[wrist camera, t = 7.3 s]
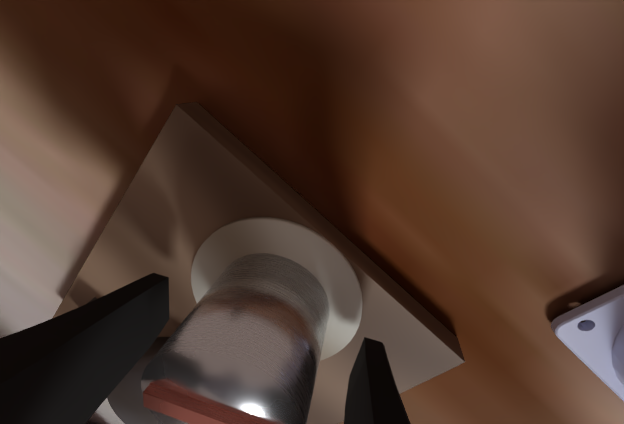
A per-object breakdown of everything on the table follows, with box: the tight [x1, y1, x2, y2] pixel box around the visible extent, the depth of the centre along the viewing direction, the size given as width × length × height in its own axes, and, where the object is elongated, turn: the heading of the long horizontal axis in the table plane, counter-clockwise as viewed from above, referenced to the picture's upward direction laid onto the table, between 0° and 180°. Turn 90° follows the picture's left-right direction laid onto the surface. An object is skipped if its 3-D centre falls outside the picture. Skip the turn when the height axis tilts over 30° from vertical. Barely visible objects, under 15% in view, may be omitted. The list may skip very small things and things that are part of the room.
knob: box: [141, 253, 330, 424], centre depth 10 cm, size 5×5×5 cm
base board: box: [53, 102, 465, 424], centre depth 13 cm, size 15×14×3 cm
